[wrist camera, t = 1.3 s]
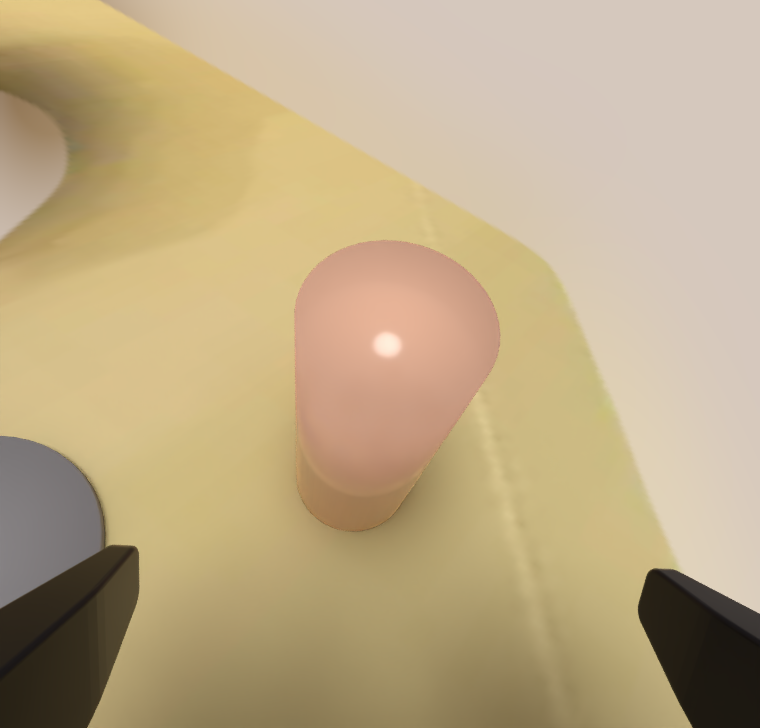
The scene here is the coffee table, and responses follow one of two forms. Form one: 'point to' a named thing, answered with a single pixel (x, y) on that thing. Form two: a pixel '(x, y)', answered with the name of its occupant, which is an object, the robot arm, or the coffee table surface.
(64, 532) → the coaster
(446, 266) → the pink rounded cylinder
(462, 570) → the coffee table surface
